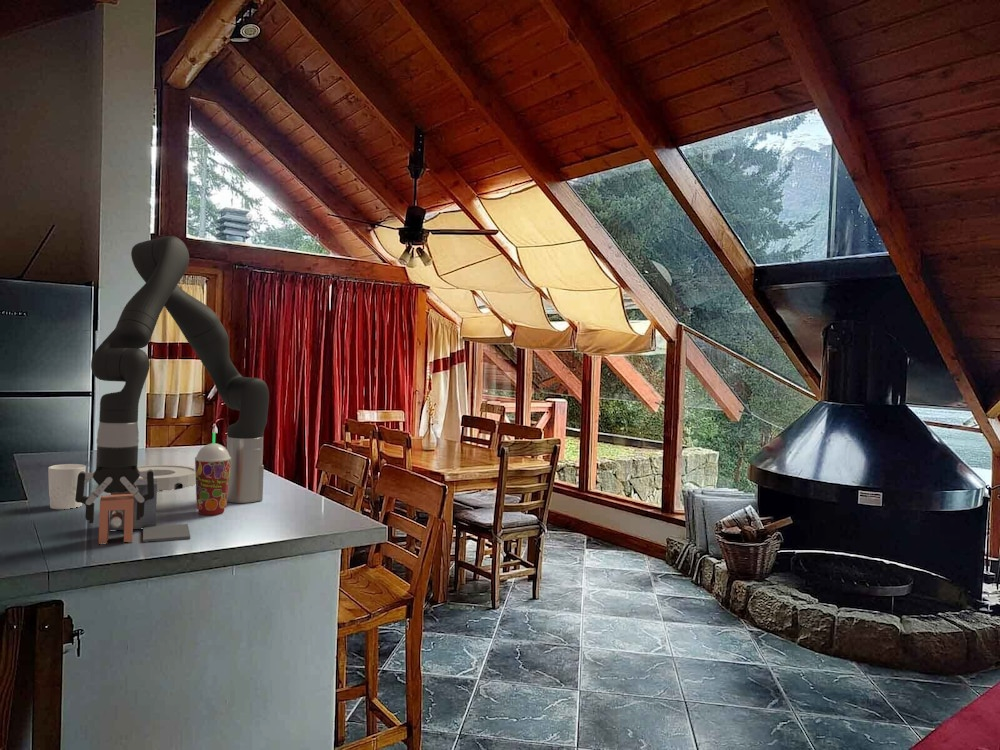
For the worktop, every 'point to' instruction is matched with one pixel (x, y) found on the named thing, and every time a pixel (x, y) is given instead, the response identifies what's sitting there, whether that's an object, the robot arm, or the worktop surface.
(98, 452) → the robot arm
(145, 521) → the vise block
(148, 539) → the mat
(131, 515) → the notched orange block
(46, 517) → the worktop surface
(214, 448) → the smoothie
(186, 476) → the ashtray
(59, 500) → the white cup
